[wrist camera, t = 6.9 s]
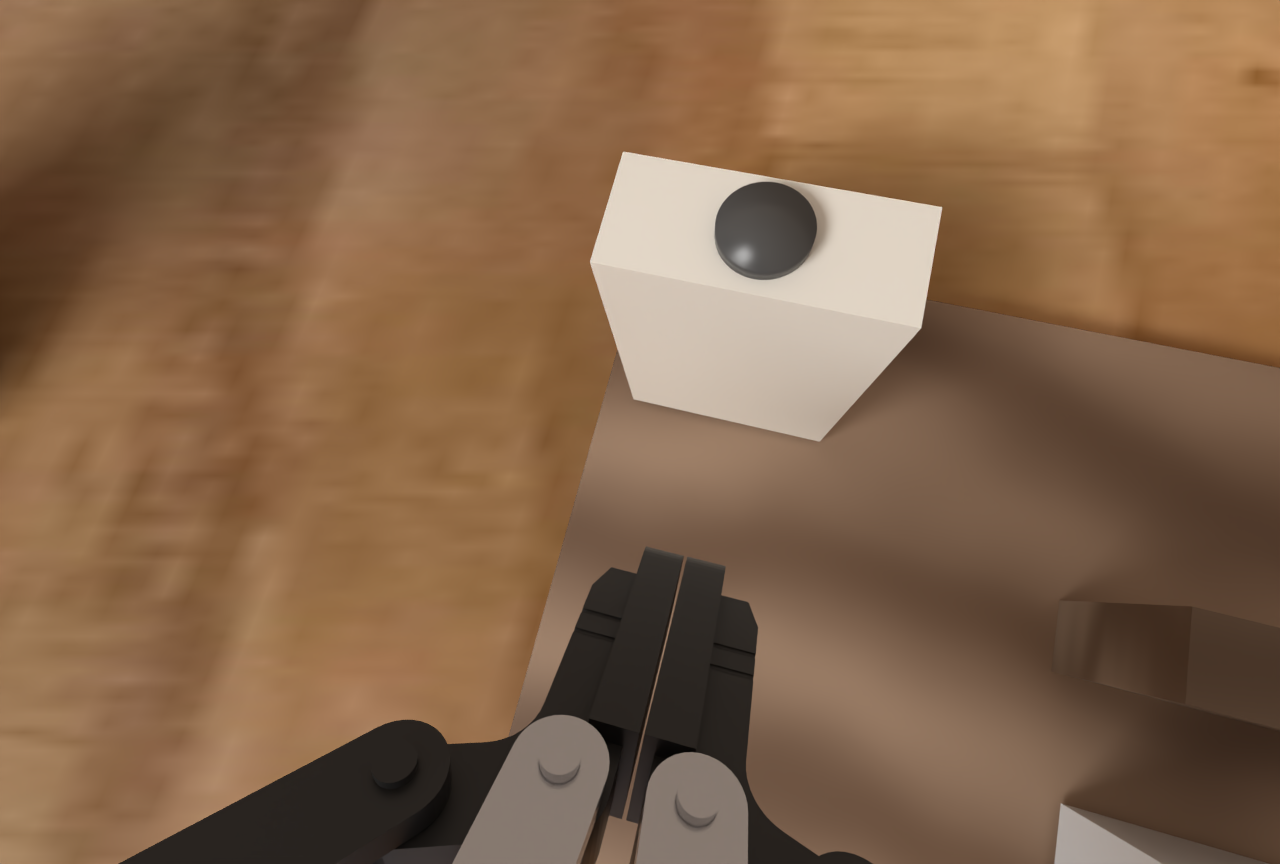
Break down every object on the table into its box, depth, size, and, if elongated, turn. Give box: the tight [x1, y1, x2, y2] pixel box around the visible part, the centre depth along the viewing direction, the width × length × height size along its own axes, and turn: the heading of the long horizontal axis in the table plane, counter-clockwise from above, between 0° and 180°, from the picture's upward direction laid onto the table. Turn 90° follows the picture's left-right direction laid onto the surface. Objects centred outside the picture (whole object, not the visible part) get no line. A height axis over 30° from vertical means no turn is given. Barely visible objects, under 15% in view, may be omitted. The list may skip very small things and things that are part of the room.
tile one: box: [590, 152, 942, 442], centre depth 16 cm, size 2×6×9 cm, turn 75°
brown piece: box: [509, 300, 1280, 864], centre depth 17 cm, size 20×22×6 cm
